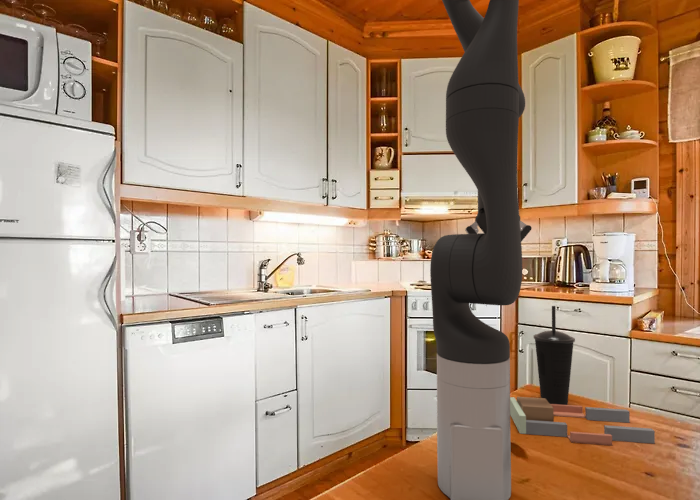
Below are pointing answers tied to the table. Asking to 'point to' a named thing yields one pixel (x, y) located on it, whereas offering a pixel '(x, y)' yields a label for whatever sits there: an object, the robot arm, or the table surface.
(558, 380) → the drinking cup
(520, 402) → the walnut block
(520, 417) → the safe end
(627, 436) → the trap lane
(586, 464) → the table surface
